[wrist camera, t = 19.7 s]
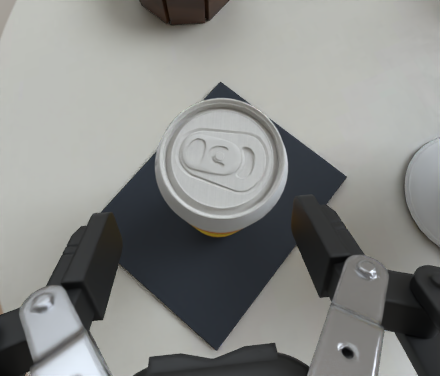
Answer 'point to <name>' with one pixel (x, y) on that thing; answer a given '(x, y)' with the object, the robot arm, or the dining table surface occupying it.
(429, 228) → the chalice
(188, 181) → the beer can
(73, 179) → the dining table surface
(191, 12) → the segmented ring
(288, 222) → the mat
